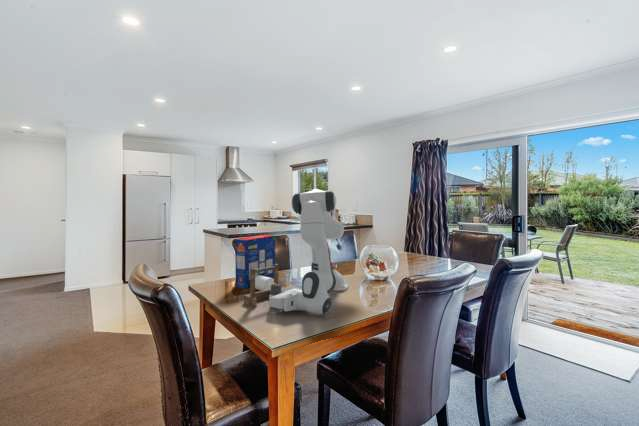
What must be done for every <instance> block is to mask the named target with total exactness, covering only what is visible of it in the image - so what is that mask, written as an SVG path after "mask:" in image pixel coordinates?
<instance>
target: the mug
mask: <svg viewBox="0 0 639 426" xmlns="http://www.w3.org/2000/svg"><path fill="white" fill-rule="evenodd" d="M273 283H274V279H273V278H269V277H265V276H261V275H258V276H256V277H255V290H257V291H263V290H267V289H271V285H272V284H273Z"/></svg>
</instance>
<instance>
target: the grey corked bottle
mask: <svg viewBox="0 0 639 426" xmlns="http://www.w3.org/2000/svg"><path fill="white" fill-rule="evenodd" d="M281 291H282V284H280V283H278V284H276V283H273V284H272V285H271V294H274V296H275V295H277V294H280V293H281ZM271 308H273V309H275V308H274V307H271Z"/></svg>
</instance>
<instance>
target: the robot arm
mask: <svg viewBox="0 0 639 426" xmlns="http://www.w3.org/2000/svg"><path fill="white" fill-rule="evenodd" d="M336 205H337V198H336V195H335V193H334V191H332V190H328V189H327V190H321V189H319V188H314V189H311V190H310V191H304V192H297V193H294V195H292V198H291V208H292V211H293V212H294V213H296V214H298V215H299V216H300V227H299V232H300V236H301V238H302V240H303V241H304V242H305V244H307V245H309V246H310V248H311V257H312V260H311V261H312V262H311V265H310V267H311V268H310V269H311V271H308V272H306V273H305V274H304V275H303V277H302V280H301V288H298V287H292V288H291V289H288V290H281V293H280V294H277V295H275V296H274V294H270V295H269V298H268V305H269V306H270V307H271V308H272V307H274V308H273V309H279V310H283V311H284V312H291V311H306V312H308V313H310V314H316V315H325V314H326V313H328V311H329V310H330V309H331V306H332V298H331V296H330V295H329V294H330V293H331V292H332V291H333V292H334V291H341V292H342V291H346V290H347V289H348V287H349V286H348V285H349V284H348V283H346V282H345V279H344V276H343V275H342V274H341V273H340V272H339V271H338V270H336V268H335V263H333V262H332V250H331V248H330V247H329V241H328V240H337V239H341V238H342V237H343V235H344V233H345V227H344V224H343V223H342V222H341V221H340V220H337V219H336V218H334V216H332V215H331V213H330V212H333V211H334V210H335V209H336Z"/></svg>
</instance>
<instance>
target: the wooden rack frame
mask: <svg viewBox="0 0 639 426" xmlns="http://www.w3.org/2000/svg"><path fill="white" fill-rule="evenodd" d="M269 270H274V283H276V284H279V264H278V263H275V264H274V266H271V267H266V268H260V269H255V268H250V288H249V289H250V293H248V294H246V293H245V294H244V295H243V304H245V305H248V306H250V307H252V308H256V307H257V304H258V303H257V302H258V301H262V300H265V299H269V295H270V294H271V289H267V290H263V291H260V290H258V291H256V289H255V273H258V272H263V271H265V275H268V271H269Z"/></svg>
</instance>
